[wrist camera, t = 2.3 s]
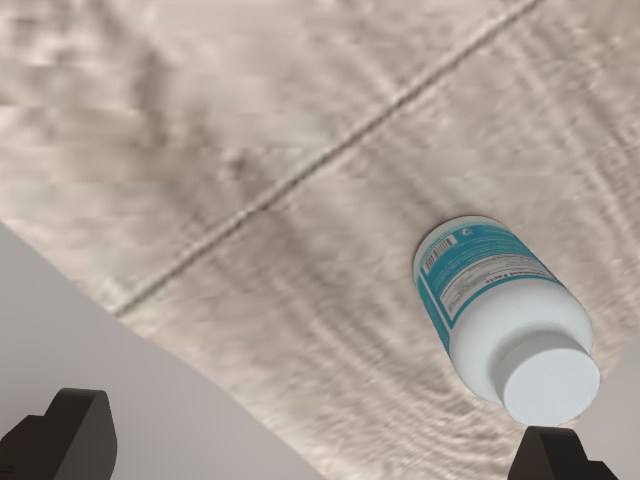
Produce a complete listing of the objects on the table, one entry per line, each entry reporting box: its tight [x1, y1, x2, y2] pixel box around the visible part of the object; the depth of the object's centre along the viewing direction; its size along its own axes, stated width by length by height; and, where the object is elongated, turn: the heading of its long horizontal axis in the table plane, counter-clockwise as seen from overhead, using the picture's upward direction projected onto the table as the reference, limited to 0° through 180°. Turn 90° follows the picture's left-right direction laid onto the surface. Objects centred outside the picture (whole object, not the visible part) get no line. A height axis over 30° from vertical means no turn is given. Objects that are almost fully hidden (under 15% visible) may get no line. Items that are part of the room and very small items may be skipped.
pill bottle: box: [413, 216, 600, 427], centre depth 32 cm, size 8×7×14 cm
